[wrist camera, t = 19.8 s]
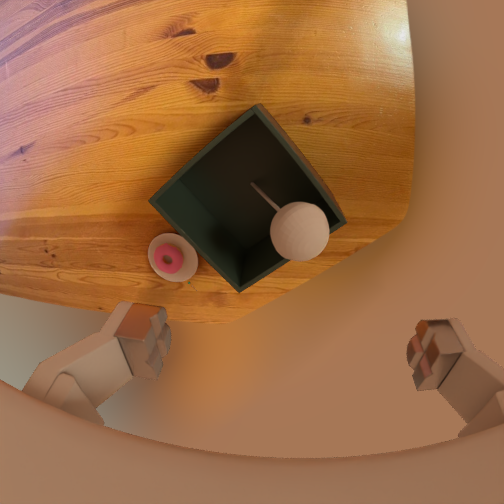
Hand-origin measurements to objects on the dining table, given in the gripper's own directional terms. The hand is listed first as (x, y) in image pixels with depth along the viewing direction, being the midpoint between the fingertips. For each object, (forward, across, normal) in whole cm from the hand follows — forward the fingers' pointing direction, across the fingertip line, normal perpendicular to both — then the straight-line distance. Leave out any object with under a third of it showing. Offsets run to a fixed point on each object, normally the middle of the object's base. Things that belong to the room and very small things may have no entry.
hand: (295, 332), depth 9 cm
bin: (+32, +4, +5) cm, 32 cm away
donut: (+32, +15, +18) cm, 39 cm away
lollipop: (+31, +4, +5) cm, 32 cm away
